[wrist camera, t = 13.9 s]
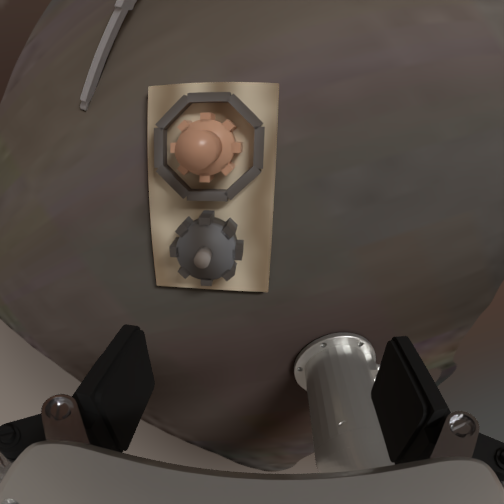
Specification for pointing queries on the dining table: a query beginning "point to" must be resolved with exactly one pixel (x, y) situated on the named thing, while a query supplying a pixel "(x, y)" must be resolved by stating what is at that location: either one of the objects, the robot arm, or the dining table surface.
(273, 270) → the dining table surface
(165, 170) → the carrier
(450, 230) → the dining table surface
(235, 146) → the planet gear
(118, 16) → the caliper
